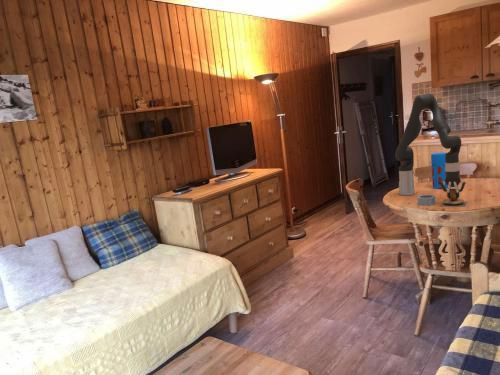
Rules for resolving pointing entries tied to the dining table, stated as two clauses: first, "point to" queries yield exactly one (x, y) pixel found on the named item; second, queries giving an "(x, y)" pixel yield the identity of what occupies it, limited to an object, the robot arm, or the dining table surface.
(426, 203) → the bowl
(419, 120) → the robot arm
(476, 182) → the dining table surface
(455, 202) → the lid
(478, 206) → the dining table surface
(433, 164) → the blue box
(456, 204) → the coaster
